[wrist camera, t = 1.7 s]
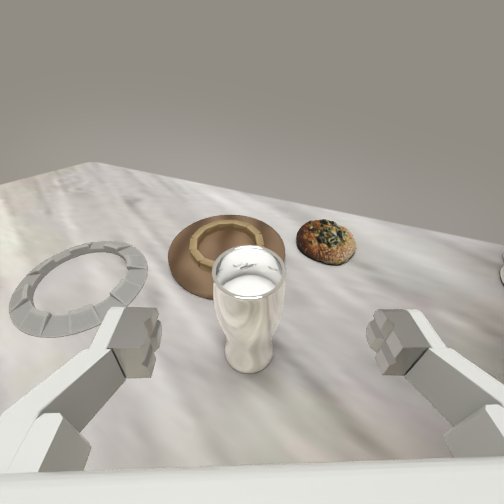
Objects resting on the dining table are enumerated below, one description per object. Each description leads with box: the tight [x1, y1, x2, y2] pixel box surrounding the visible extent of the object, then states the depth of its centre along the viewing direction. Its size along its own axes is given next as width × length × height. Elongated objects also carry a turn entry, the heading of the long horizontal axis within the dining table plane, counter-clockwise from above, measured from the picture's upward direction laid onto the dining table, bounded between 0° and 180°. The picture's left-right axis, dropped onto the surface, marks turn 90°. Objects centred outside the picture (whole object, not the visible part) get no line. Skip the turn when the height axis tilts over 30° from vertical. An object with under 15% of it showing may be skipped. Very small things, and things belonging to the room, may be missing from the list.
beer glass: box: [212, 245, 286, 374], centre depth 28 cm, size 7×7×15 cm
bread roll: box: [297, 219, 356, 265], centre depth 47 cm, size 11×11×5 cm
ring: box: [9, 241, 148, 338], centre depth 41 cm, size 19×19×2 cm
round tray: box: [168, 215, 285, 300], centre depth 45 cm, size 20×20×3 cm
